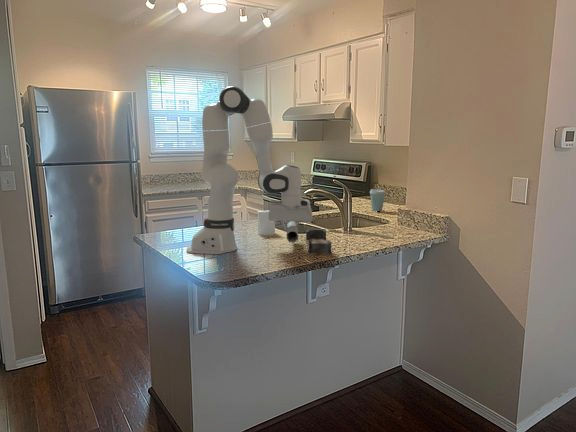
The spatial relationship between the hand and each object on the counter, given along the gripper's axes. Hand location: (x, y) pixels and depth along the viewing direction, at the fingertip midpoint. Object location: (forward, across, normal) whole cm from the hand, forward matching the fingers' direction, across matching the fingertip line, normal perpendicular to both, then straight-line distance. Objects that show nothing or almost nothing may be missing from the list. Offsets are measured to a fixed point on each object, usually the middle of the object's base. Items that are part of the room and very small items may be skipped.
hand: (289, 230), depth 198 cm
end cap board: (+7, +13, 0) cm, 15 cm away
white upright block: (+8, -12, +28) cm, 32 cm away
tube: (+2, +1, 0) cm, 3 cm away
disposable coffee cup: (+4, +60, +95) cm, 112 cm away
